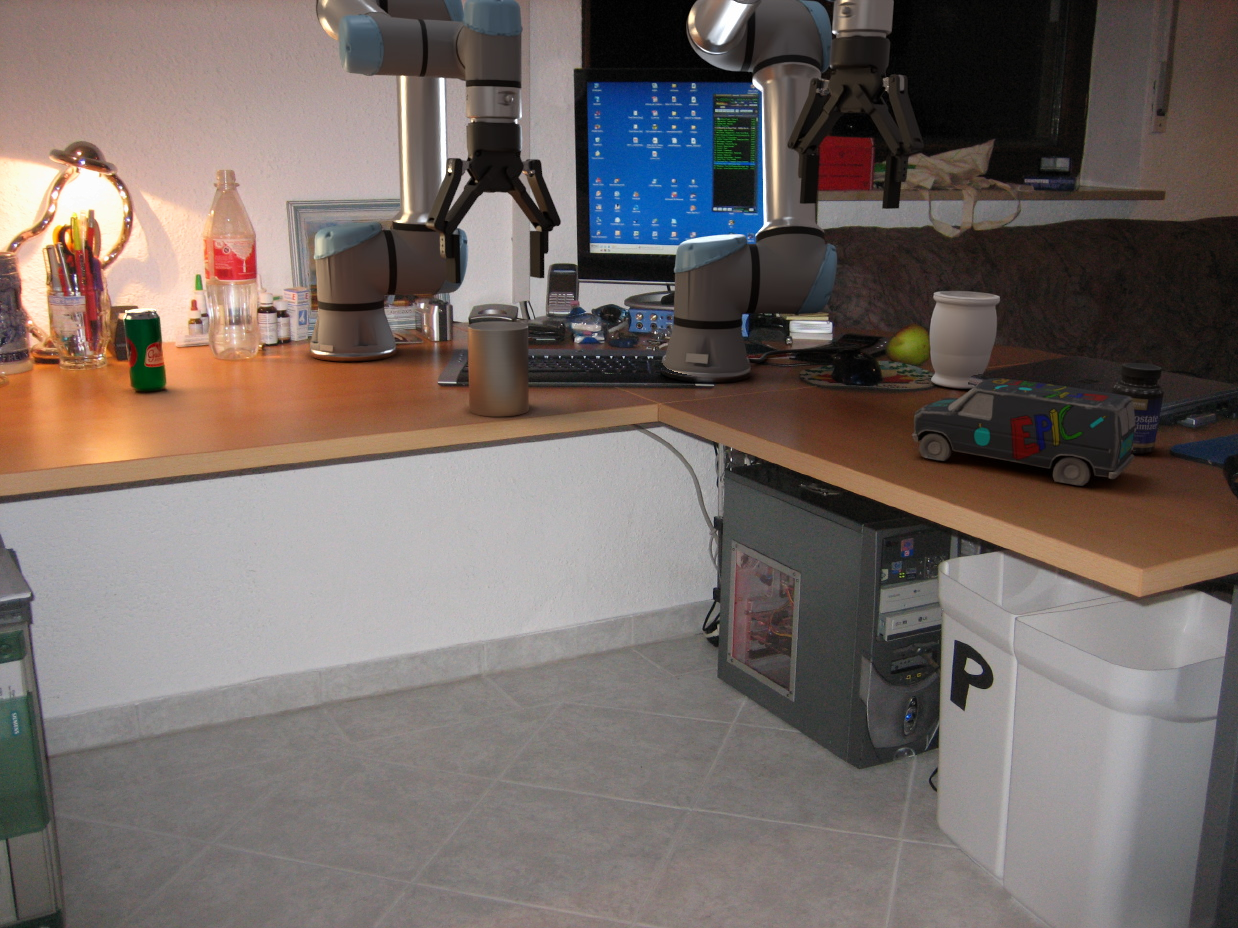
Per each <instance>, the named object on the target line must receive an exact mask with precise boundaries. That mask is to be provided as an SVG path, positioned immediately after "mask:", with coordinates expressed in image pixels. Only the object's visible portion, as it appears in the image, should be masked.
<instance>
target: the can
mask: <svg viewBox="0 0 1238 928" xmlns="http://www.w3.org/2000/svg"><path fill="white" fill-rule="evenodd" d="M467 354H468V355H467V359H468V360H467V363H468V408H469V412H470V413H472V414H474V415H477V416H482V417H489V418H490V417H493V418H503V417H514V416H515V417H516V416H519V415H524V414H526V413H528V412H529V410H530V402H529V401H530V399H529V398H530V395H529V394H530V391H529V389H530V386H529V384H530V380H529V377H530V376H529V375H530V374H529V373H530V372H529V324H526V323H523V322H518V321H505V320H504V321H502V320H497V321H496V320H494V321H493V320H492V321H490V320H489V321H479V322H473V323H470V324H468V325H467Z"/></svg>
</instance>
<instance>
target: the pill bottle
mask: <svg viewBox="0 0 1238 928" xmlns="http://www.w3.org/2000/svg"><path fill="white" fill-rule="evenodd" d="M1162 371H1163V367H1161V366H1158V365H1155V364H1149V363H1142V362H1141V363H1140V362H1126V363H1122V365H1121V369H1120V375H1121V380H1119V381H1116V382H1115V383H1114V384H1113V385H1112V388H1111V393H1112V394H1118V395H1125V396H1130V397H1131V398H1133V405H1134V415H1135V423H1136V431H1135V436H1134V441H1133V450H1132V451H1131V454H1140V455H1141V454H1148V453H1151V452H1153V451H1154V450H1155V448H1156V440H1157V435H1158V428H1159V424H1160V419H1161V418H1160V417H1161V412H1162V407H1163V399H1164V395H1165V391H1164V389H1163V387H1162V386H1161V385H1159V383H1158V381H1159V380H1160V379H1161V377H1162Z"/></svg>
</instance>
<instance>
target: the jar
mask: <svg viewBox="0 0 1238 928" xmlns="http://www.w3.org/2000/svg"><path fill="white" fill-rule="evenodd" d="M1000 297H1001V296H999V295H996V294H994V293H986V292H980V291H979V292H978V291H967V290H966V291H965V290H942V291H935V292H933V300H934V301H935V306H934V308H933V311H932V315H931V319H930V325H929V348H930V361H931V365H932V369H933V371H934V374H933V375H932V377H931V379H930V381H931V382H932V383H933V384H934V385H937V386H940V387H944V388H951V389H960V390H962V389H963V390H971V389H972V388H974V387H975V386H974V385H968V382H969V378H970V377H971V376H973V375H978V374H982V375H983V374H984V373H985V371H986V370H987V367H988V366H989V362H990V360H991V357H992V351H993V349H994V346H995V341H996V337H997V329H998V315H997V309H996V306H997V305H998V304H1000V302H1001V298H1000Z"/></svg>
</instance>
